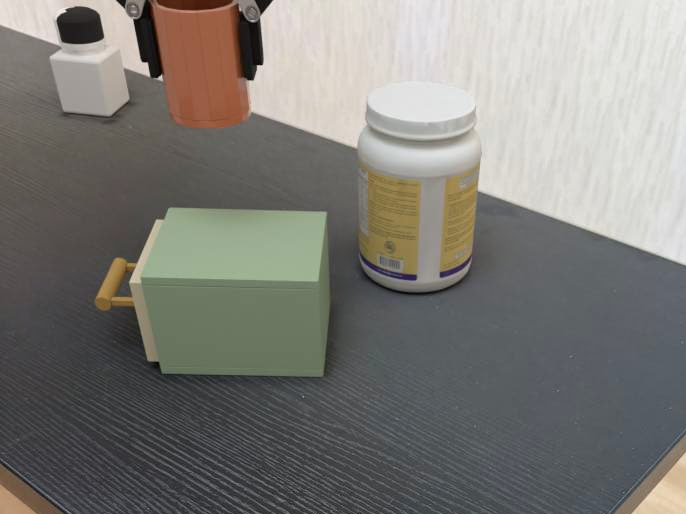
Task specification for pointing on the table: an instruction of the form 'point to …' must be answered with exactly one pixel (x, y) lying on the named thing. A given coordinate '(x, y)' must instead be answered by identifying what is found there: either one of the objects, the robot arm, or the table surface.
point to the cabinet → (239, 292)
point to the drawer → (114, 282)
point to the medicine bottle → (87, 65)
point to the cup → (201, 61)
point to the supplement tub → (418, 185)
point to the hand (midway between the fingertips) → (204, 71)
